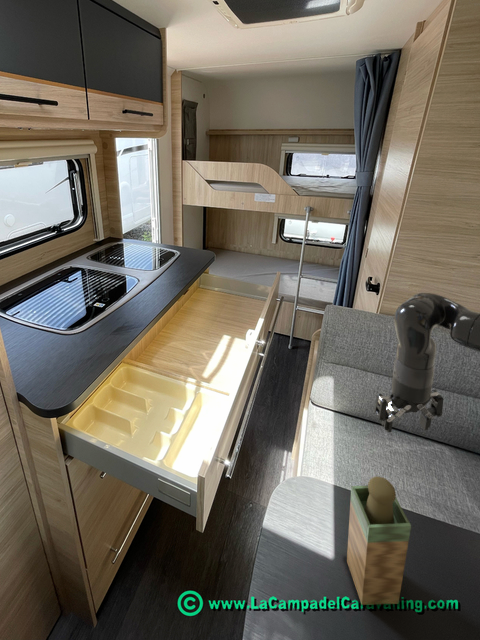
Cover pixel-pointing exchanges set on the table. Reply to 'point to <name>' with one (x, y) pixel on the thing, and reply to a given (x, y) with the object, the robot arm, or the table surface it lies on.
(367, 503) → the cork
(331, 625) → the table surface
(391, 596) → the box
